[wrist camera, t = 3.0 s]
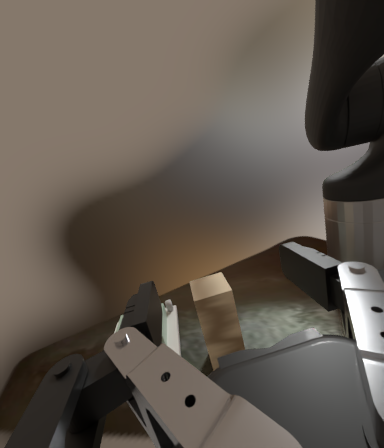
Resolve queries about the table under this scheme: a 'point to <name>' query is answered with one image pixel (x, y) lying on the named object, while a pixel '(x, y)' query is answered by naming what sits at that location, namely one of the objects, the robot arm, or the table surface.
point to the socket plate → (167, 327)
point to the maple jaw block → (217, 316)
